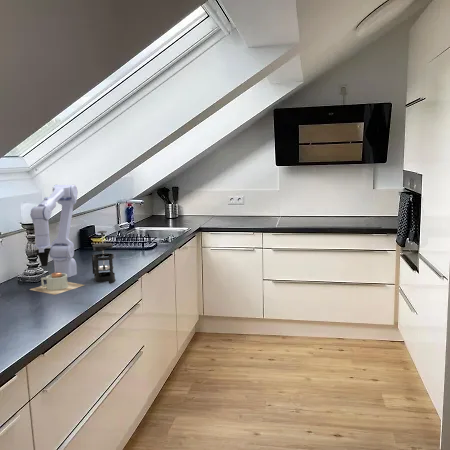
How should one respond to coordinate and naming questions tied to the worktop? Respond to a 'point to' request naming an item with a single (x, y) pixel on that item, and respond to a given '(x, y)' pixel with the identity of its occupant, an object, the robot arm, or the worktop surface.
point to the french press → (96, 268)
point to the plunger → (56, 275)
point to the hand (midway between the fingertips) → (44, 265)
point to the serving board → (54, 292)
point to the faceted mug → (55, 282)
